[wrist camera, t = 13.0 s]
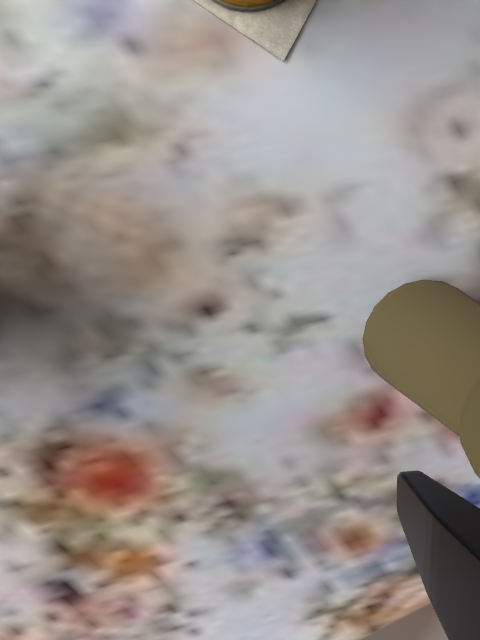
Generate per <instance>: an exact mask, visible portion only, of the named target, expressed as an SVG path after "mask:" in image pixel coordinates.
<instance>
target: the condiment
mask: <svg viewBox="0 0 480 640" xmlns="http://www.w3.org/2000/svg"><path fill="white" fill-rule="evenodd" d="M194 1H195V2H197V3H198V4H200V5H201V6H202V7H204V8H205V9H207V10H208V11H210V12H211V13H213V14H214V15H216V16H217V17H219V18H220V19H222V20H223V21H225V22H226V23H228V24H229V25H230V26H232V27H233V28H235V29H236V30H238V31H239V32H241V33H242V34H244V35H246V36H247V37H248V38H250V39H253V40H254V41H255V42H256V43H258V44H259V45H261V46H262V47H264V48H265V49H267V50H268V51H270V52H271V53H272V54H274V55H275V56H277V57H278V58H279V59H281V60H282V61H284V59H285V57H286V56H287V54H288V52H289V50H290V48H291V46H292V44H293V43H294V41H295V39H296V37H297V35H298V33H299V32H300V30H301V28H302V26H303V24H304V22H305V21H306V19H307V17H308V15H309V13H310V11H311V9H312V7H313V6H314V4H315V2H316V0H194Z"/></svg>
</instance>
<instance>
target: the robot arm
mask: <svg viewBox="0 0 480 640" xmlns="http://www.w3.org/2000/svg"><path fill="white" fill-rule="evenodd" d="M397 512H398V516H399V519H400V522H401V525H402V527H403V530H404V533H405V535H406V538H407V541H408V544H409V546H410V549H411V552H412V554H413V557H414V560H415V563H416V565H417V568H418V571H419V573H420V576H421V579H422V582H423V584H424V587H425V589H426V592H427V594H428V597H429V599H430V601H431V604H432V606H433V608H434V610H435V612H436V614H437V616H438V618H439V621H440V622H441V625H442V627H443V629H444V631H445V633H446V635H447V637H448V639H449V640H480V508H478V507H476V506H475V505H473V504H472V503H470V502H468V501H467V500H465V499H464V498H462V497H460V496H459V495H457V494H456V493H454V492H452V491H451V490H449V489H448V488H446V487H445V486H443V485H441V484H440V483H438V482H437V481H435V480H433V479H432V478H430V477H429V476H427V475H425V474H424V473H422V472H420V471H407V472H400V473H399V474H398V477H397Z"/></svg>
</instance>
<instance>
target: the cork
mask: <svg viewBox="0 0 480 640" xmlns="http://www.w3.org/2000/svg"><path fill="white" fill-rule="evenodd" d="M363 344H364V351H365V356H366V358H367V360H368V362H369V364H370V366H371V368H372V369H373V370H374V371H375V372H376V373H377V374H378V375H379V376H380V377H382V378H383V379H384V380H385V381H386V382H388V383H389V384H390V385H392V386H393V387H394V388H396V389H397V390H398V391H400V392H401V393H402V394H404V395H405V396H406V397H408V398H409V399H410V400H412V401H413V402H414V403H416V404H417V405H418V406H420V407H421V408H422V409H424V410H425V411H426V412H428V413H429V414H430V415H432V416H433V417H434V418H436V419H437V420H438V421H440V422H441V423H442V424H444V425H445V426H446V427H448V428H449V429H450V430H452V431H453V432H454V433H456V434H457V435H458V436H460V441H461V444H462V447H463V449H464V451H465V453H466V455H467V457H468V459H469V461H470V464H471V466H472V468H473V470H474V472H475V473H476V475H477V476H478V477H479V478H480V304H479V303H477V302H476V301H474V300H473V299H472V298H470V297H469V296H467V295H466V294H464V293H463V292H462V291H460V290H459V289H457V288H455V287H453V286H451V285H448V284H446V283H444V282H442V281H431V280H421V281H416V282H412V283H407V284H404V285H402V286H401V287H399V288H397V289H395V290H393V291H391V292H390V293H388V294H387V295H386V296H385V297H384V298H383V299H382V300H381V301H380V302H379V303H378V304H377V305H376V306H375V307H374V309H373V311H372V313H371V315H370V317H369V318H368V320H367V322H366V326H365V331H364V336H363Z"/></svg>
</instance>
